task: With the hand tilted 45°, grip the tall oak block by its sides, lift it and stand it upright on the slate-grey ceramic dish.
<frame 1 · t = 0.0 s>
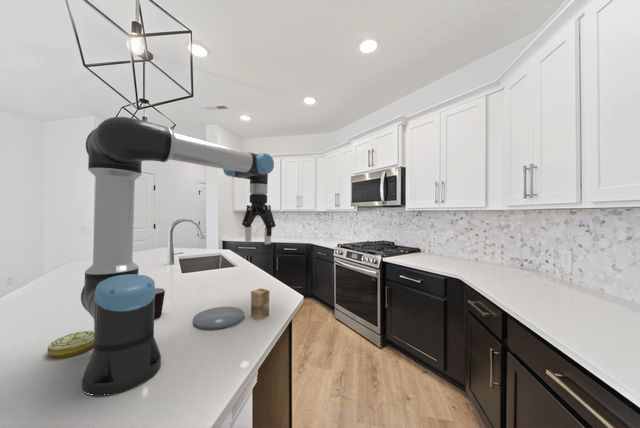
hand: (257, 242, 108), 28 cm above the countertop, tool pointing down, fingers open, 13 cm apart
coffee mug: (147, 317, 94), on the countertop
decorated donut: (74, 350, 72), on the countertop
oak block: (259, 316, 97), on the countertop
dish: (219, 319, 94), on the countertop
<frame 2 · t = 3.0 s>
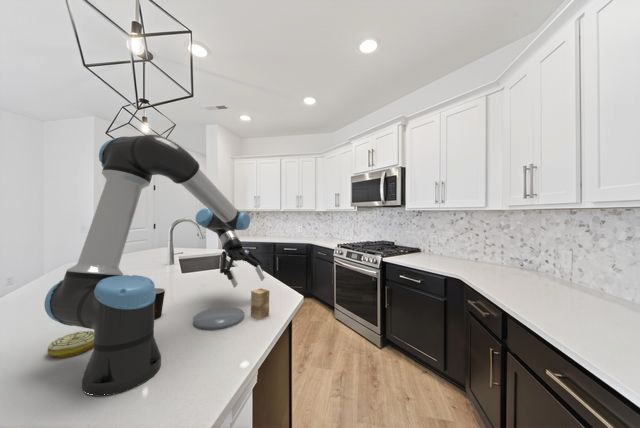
hand: (250, 282, 103), 12 cm above the countertop, tool tilted 45°, fingers open, 13 cm apart
nothing on the countertop moved.
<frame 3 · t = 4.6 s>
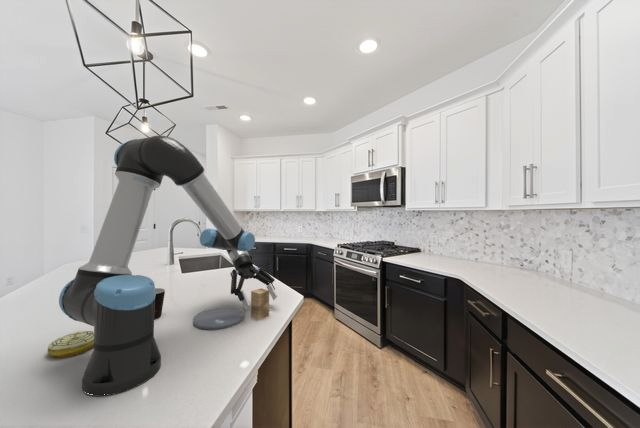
hand: (262, 302, 97), 5 cm above the countertop, tool tilted 45°, fingers open, 13 cm apart
nothing on the countertop moved.
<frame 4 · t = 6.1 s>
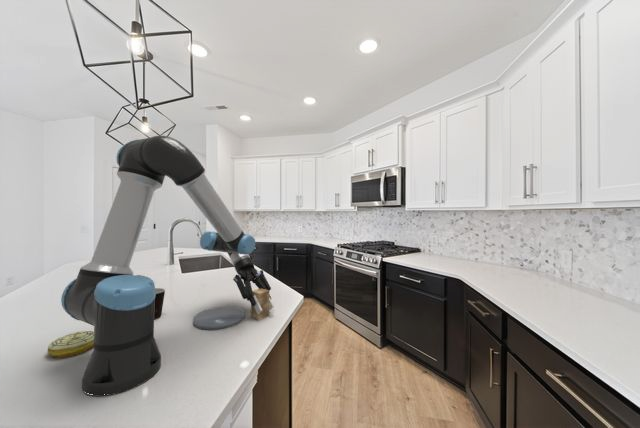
hand: (266, 310, 95), 3 cm above the countertop, tool tilted 45°, fingers closed on oak block, 5 cm apart
oak block: (259, 316, 97), on the countertop, touching gripper
everything else where it was.
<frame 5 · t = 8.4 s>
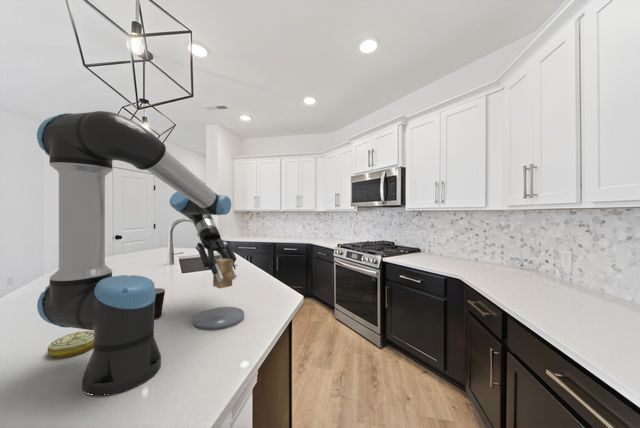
hand: (228, 278, 92), 16 cm above the countertop, tool tilted 45°, fingers closed on oak block, 5 cm apart
oak block: (222, 285, 94), point 13 cm above the countertop, touching gripper
everything else where it was.
when the fingers open (6 cm above the countertop, at t = 10.7 s): oak block drops 1 cm, resting on dish.
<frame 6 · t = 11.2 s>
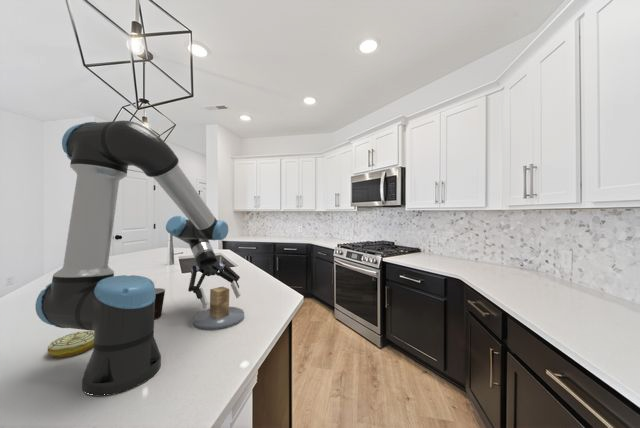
hand: (223, 300, 92), 8 cm above the countertop, tool tilted 45°, fingers open, 13 cm apart
oak block: (219, 315, 94), point 1 cm above the countertop, touching dish
everything else where it was.
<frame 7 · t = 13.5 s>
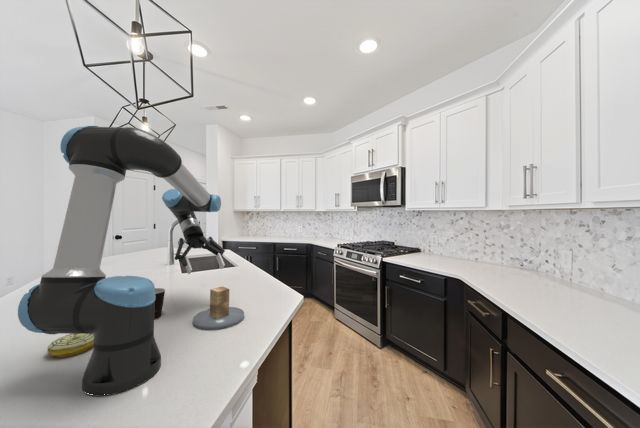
hand: (207, 269, 100), 17 cm above the countertop, tool tilted 45°, fingers open, 13 cm apart
nothing on the countertop moved.
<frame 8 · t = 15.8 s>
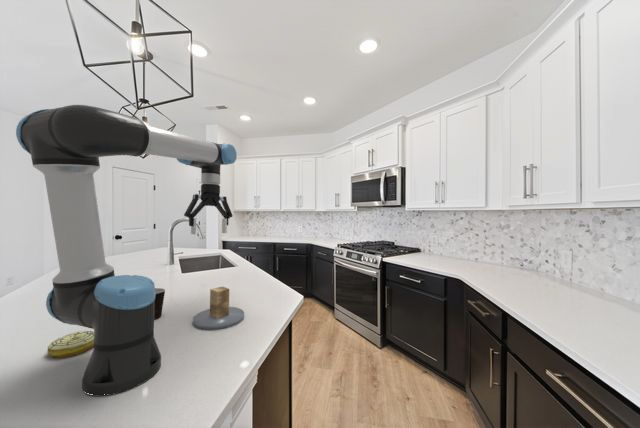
hand: (209, 233, 106), 32 cm above the countertop, tool pointing down, fingers open, 13 cm apart
nothing on the countertop moved.
at the end: oak block inside the target area on the dish (0.1 cm from its centre), point 1.5 cm above the dish's base; oak block tilted 0°; the gripper is holding nothing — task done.
